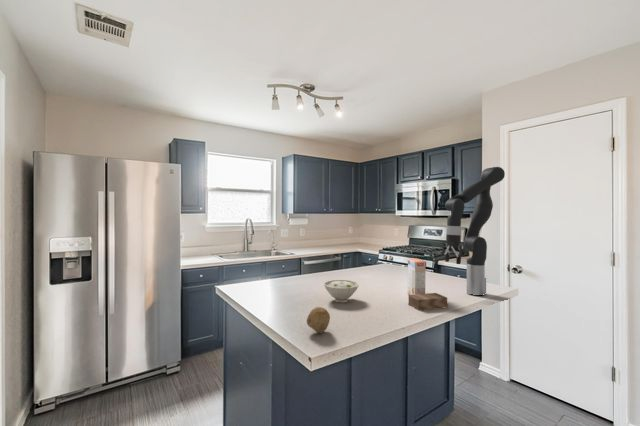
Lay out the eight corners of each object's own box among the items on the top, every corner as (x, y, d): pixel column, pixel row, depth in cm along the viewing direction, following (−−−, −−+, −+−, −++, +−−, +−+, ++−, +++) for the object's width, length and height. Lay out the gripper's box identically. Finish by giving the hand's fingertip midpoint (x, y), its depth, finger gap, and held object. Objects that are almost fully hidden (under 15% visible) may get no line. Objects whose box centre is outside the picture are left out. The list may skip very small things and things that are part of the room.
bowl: (358, 295, 168) (358, 278, 168) (359, 306, 149) (360, 286, 149) (324, 294, 170) (324, 277, 170) (321, 305, 151) (321, 285, 151)
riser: (436, 302, 156) (436, 292, 156) (447, 307, 147) (447, 297, 147) (408, 304, 152) (408, 294, 152) (418, 310, 143) (418, 299, 143)
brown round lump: (304, 336, 112) (304, 310, 112) (309, 327, 121) (309, 303, 121) (328, 338, 111) (328, 311, 111) (331, 329, 120) (331, 304, 120)
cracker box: (426, 301, 157) (426, 261, 157) (414, 301, 158) (414, 261, 158) (417, 294, 171) (417, 257, 171) (407, 294, 172) (407, 257, 172)
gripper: (468, 235, 163) (467, 264, 162) (449, 233, 176) (448, 260, 176) (457, 234, 160) (456, 265, 160) (439, 233, 174) (438, 260, 173)
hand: (452, 262), depth 168 cm, fingers open, 8 cm apart
